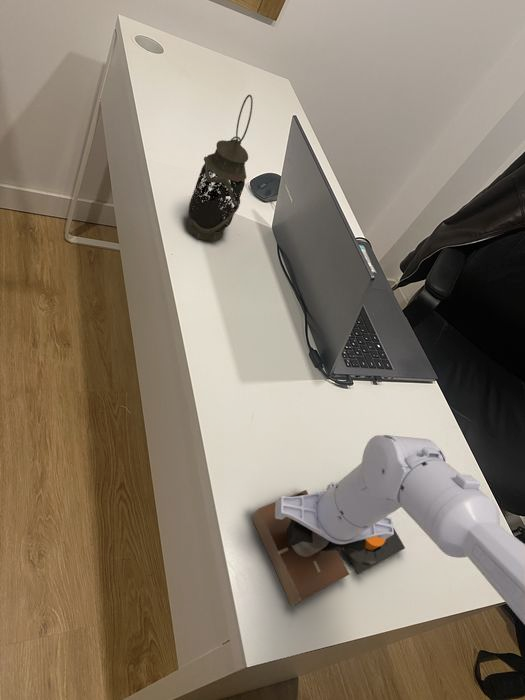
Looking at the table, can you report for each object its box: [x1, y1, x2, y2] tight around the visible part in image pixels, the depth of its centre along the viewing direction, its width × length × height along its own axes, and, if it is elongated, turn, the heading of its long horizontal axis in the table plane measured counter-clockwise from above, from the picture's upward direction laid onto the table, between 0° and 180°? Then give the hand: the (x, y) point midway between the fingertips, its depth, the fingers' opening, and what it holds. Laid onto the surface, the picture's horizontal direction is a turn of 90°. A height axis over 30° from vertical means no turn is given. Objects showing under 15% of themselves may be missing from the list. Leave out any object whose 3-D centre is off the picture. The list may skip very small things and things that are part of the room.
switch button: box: [365, 536, 386, 550], centre depth 67 cm, size 4×4×2 cm
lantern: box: [187, 94, 254, 243], centre depth 90 cm, size 10×9×28 cm
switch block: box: [343, 516, 406, 575], centre depth 70 cm, size 11×9×4 cm
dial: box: [292, 532, 329, 557], centre depth 63 cm, size 4×4×4 cm
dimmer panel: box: [251, 489, 350, 607], centre depth 65 cm, size 12×8×3 cm
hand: (305, 540), depth 64 cm, fingers closed on dial, 4 cm apart
